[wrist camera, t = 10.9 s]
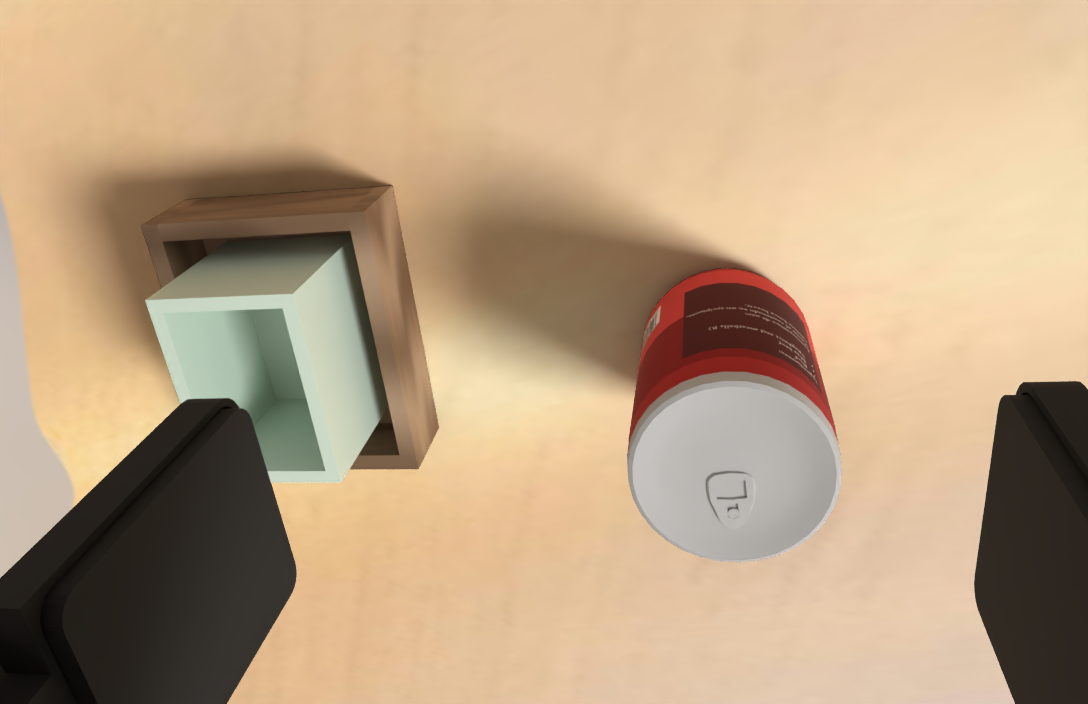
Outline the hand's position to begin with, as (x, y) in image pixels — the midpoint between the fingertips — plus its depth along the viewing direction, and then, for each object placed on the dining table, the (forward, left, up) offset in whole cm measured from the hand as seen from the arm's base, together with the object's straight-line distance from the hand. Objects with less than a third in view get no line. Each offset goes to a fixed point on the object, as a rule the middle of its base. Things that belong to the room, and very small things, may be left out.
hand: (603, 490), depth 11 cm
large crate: (+10, -18, -28) cm, 35 cm away
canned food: (+12, +2, -28) cm, 31 cm away
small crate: (+10, -18, -28) cm, 34 cm away
